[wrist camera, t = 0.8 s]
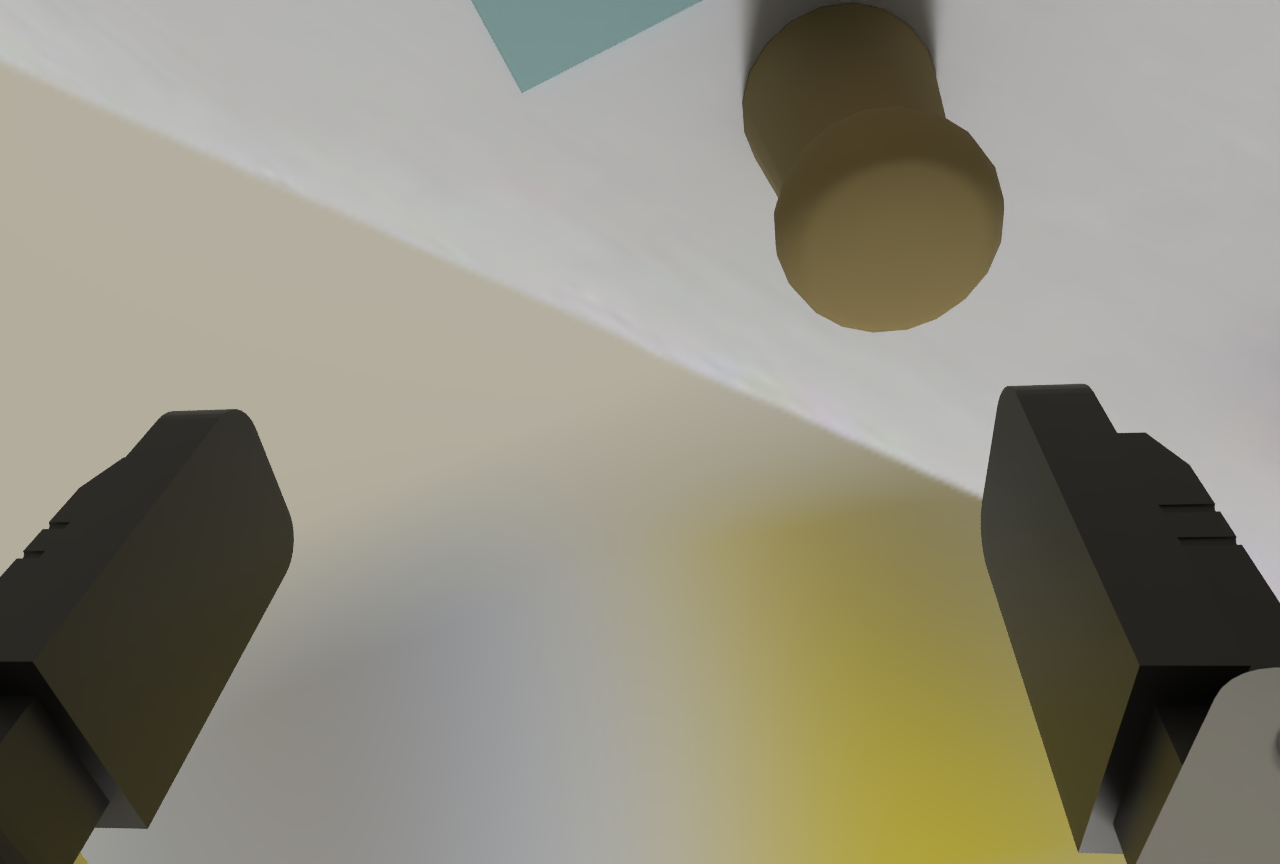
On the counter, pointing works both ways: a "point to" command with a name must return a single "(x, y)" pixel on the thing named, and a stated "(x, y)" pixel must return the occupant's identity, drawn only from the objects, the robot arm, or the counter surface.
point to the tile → (565, 30)
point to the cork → (869, 171)
